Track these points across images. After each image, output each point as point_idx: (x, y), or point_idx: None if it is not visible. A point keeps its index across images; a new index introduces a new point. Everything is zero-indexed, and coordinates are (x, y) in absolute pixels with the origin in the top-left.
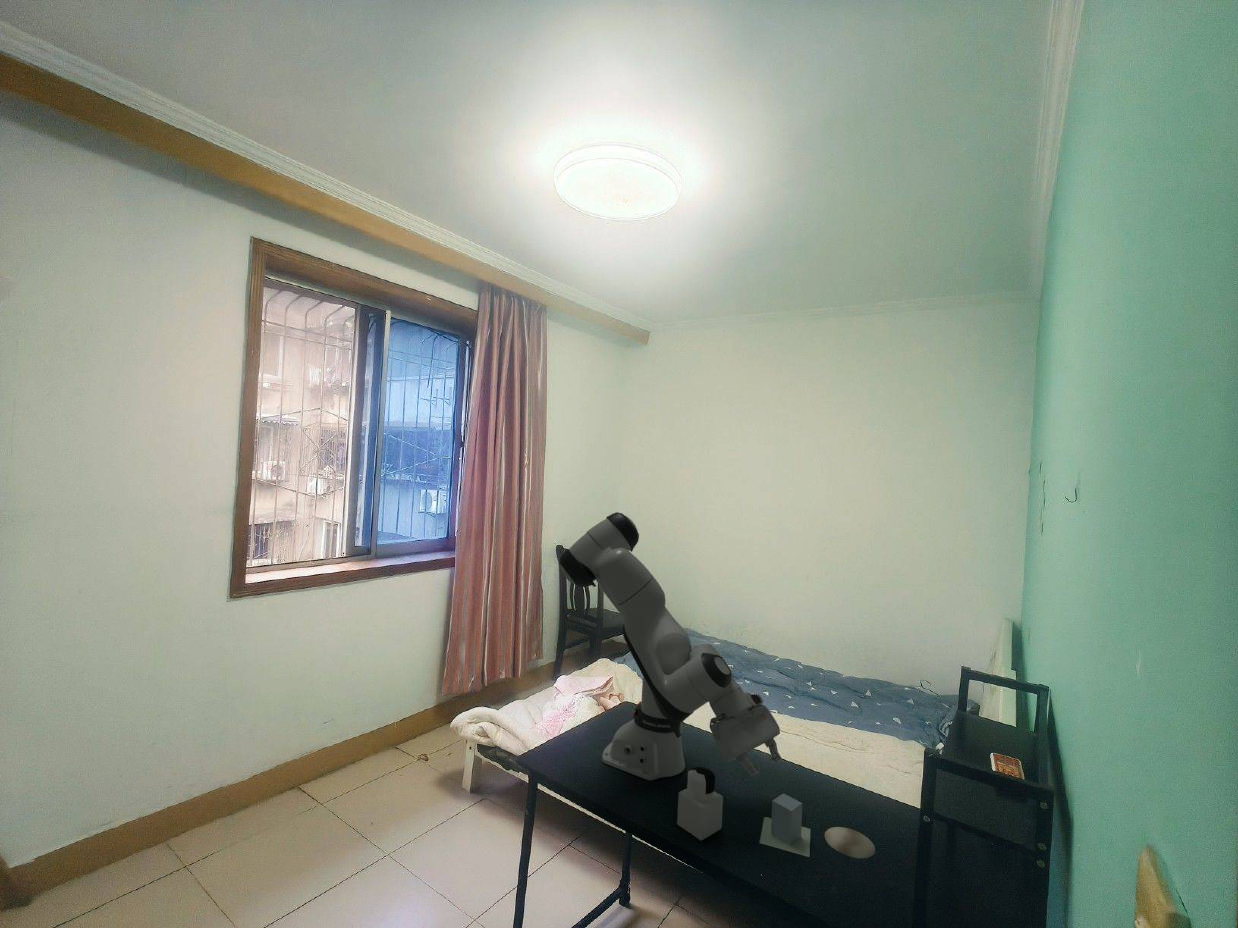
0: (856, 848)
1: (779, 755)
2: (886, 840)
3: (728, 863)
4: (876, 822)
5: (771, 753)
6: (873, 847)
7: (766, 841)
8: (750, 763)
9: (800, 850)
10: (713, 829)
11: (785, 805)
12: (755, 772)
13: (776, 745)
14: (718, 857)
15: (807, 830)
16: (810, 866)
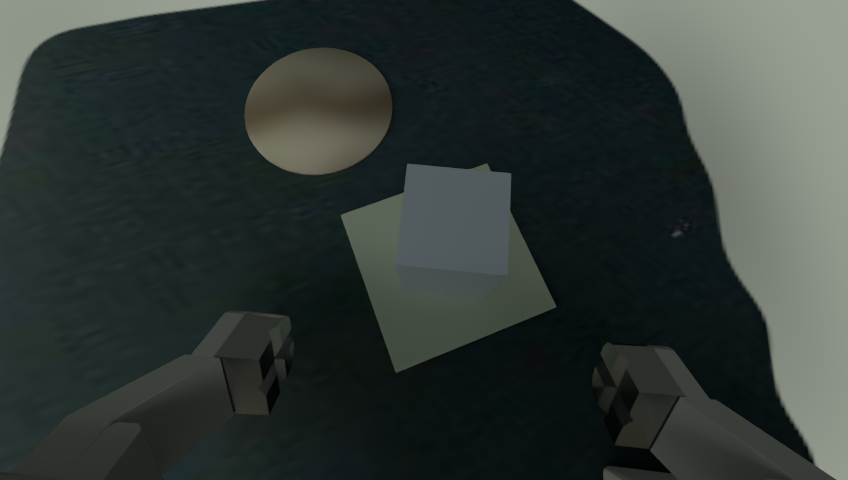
0: (337, 85)
1: (226, 324)
2: (229, 44)
3: (731, 333)
4: (145, 85)
5: (223, 413)
6: (296, 55)
7: (529, 293)
8: (729, 417)
9: None
10: (673, 476)
11: (491, 210)
12: (669, 350)
13: (121, 390)
14: (740, 376)
15: (357, 218)
16: (519, 149)
